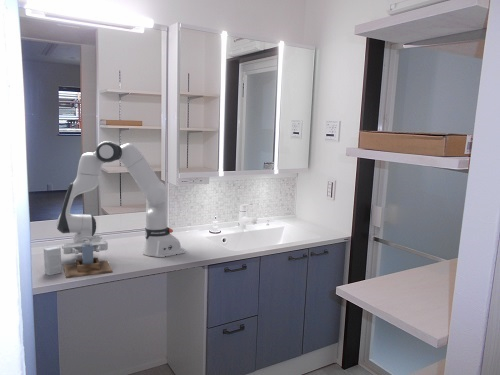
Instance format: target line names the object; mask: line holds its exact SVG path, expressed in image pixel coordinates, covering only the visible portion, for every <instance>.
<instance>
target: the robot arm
mask: <svg viewBox="0 0 500 375" xmlns="http://www.w3.org/2000/svg"><path fill="white" fill-rule="evenodd" d="M114 161H120V162H121V163H122V164H123V167H125V169H126V170H127V172H128V173H129V174H130V175H131V177H132V178H133V180H134V181H135V183H136V185H137V186H138V188H139V190H140V192H141V193H142V194H143V196H144V197H145V199H146V200H145V201H146V204H145V230H144V237H145V242H144V243H145V244H144V248H143V255H145V256H147V257H148V256H149V257H156V258H164V257H165V256H166V257H171V256H177V255H180V254H181V255H182V254H185V253H184V252H186V250H185V248H183V247H182V246H181V242H180V239H178V238H177V237H176V236H175V235H173V234H172V233H173V231H174V230H173V228H171V227H168V223H167V221H168V212H167V211H168V209H167V207H168V199H167V198H168V189H167V185H165V183H164V182H162V181H161V180H160V179H159V177H158V175H157V174H156V172H155V171H154V168H152V167H151V165H150V163H149V162H148V160H147V159H146V158H145V156H144V155H143V154H142V152H141V151H140V150H139V148H138V147H137V146H135V145H134V143H131V142H129V143H128V142H127V143H124V144H122V145H118V144H116V143H115V142H113V141H111V140H104V141H102V142H99V143H98V145H97V146H96V147H95V151H94V152H93V151H92V152H90V151H89V152H84V153H83V154H81V156H80V158H79V161H78V166H77V174H76V177H75V179H74V181H72V182H70V183H69V184H68V187H67V190H66V193H65V196H64V200H63V202H62V206H61V210H60V213H59V216H58V217H57V220H56V229H57V231H59V232H60V233H61V234H73V236H72V237H73V240H72V241H73V242H68V243H64V245H61V248H62V249H63V254H65V255H72V254H74V255H78V254H82V245H83V244H85V241H90V244H92V245H93V252H96V253H100V252H101V251H107V250H108V247H109V246H108V241H107V240H106V239H104V238H103V236H100V235H99V236H97V235H95V234H96V231H97V221H96V219H95V217H94V216H93V215H92V214H88V213H87V214H85V213H84V214H83V213H82V214H81V213H80V214H79V213H71V209H72V204H73V203H74V199H75V198H76V197H77V196H79V195H82V194H84V193H87V192H91V191H93V190H95V189H96V188H97V187H98V186H99V184H100V180H101V171H102V166H103V164H104V163H107V164H108V163H109V164H110V163H113V162H114ZM176 254H177V255H176Z"/></svg>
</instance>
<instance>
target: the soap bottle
mask: <svg viewBox="0 0 500 375" xmlns="http://www.w3.org/2000/svg"><path fill="white" fill-rule="evenodd" d="M93 258H94V251H93V245H92V244H90V241H85V244H83V245H82V253H81V259H82V265H84V264H93Z"/></svg>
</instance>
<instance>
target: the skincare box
mask: <svg viewBox="0 0 500 375" xmlns="http://www.w3.org/2000/svg"><path fill="white" fill-rule="evenodd" d="M43 263H44V275H47V276H48V277H49V276H50V277H51V276H53V275H57V274H60V273H61V274H62V254H61V247H59V246H55V245H54V246H51V247H47V248H43Z"/></svg>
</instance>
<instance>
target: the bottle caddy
mask: <svg viewBox="0 0 500 375" xmlns="http://www.w3.org/2000/svg"><path fill="white" fill-rule="evenodd" d="M63 270H64V274H65V278H66V279H69V278H76V277H84V276H92V275H100V274H109V272H110V273H113V269H112V266H111V265H110V263H109V261H108V260H99V258H98V257H93V264H84V265H82V258H81V259H75V263H72V264H64V265H63Z"/></svg>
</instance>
